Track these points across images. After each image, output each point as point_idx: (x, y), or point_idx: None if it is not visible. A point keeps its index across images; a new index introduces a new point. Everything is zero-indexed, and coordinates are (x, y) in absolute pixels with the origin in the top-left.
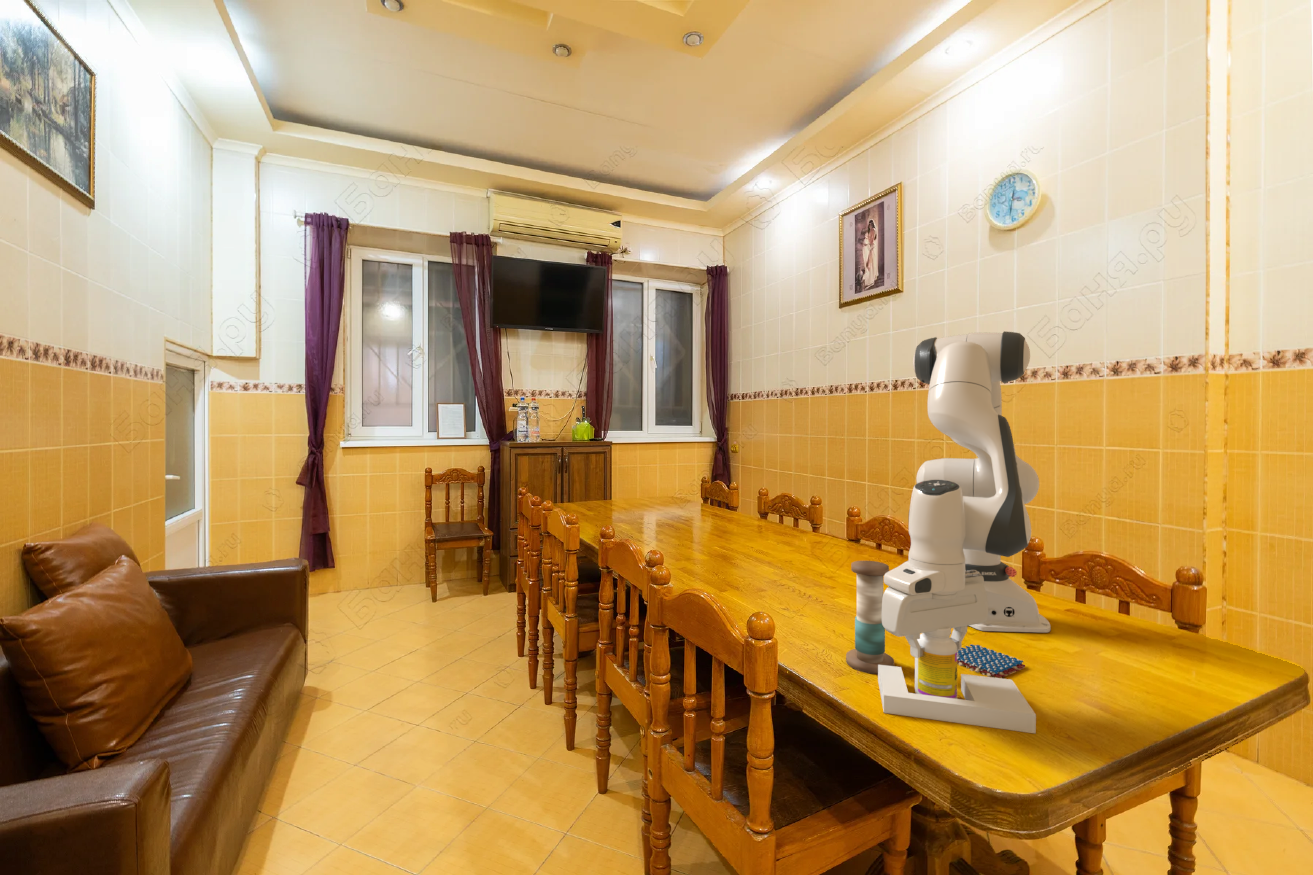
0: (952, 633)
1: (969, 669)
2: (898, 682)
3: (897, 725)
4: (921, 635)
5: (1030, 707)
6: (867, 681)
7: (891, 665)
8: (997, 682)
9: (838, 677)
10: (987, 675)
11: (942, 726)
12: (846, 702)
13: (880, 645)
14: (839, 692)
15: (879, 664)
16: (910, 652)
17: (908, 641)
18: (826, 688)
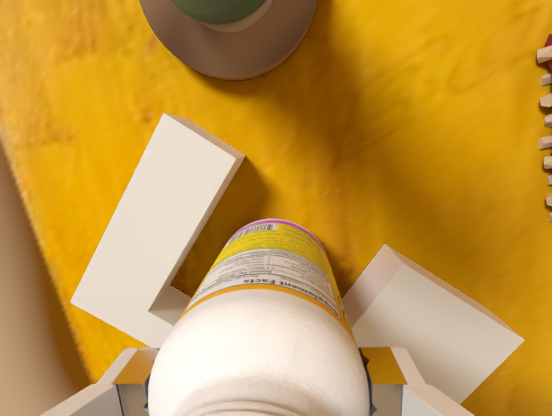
0: (430, 409)
1: (540, 139)
2: (156, 252)
3: (107, 327)
4: (184, 389)
5: None
6: (149, 115)
7: (268, 66)
8: (461, 340)
9: (70, 61)
10: (546, 200)
11: None
12: (33, 208)
13: (219, 4)
14: (35, 154)
15: (228, 46)
16: (123, 351)
17: (63, 407)
18: (6, 120)
